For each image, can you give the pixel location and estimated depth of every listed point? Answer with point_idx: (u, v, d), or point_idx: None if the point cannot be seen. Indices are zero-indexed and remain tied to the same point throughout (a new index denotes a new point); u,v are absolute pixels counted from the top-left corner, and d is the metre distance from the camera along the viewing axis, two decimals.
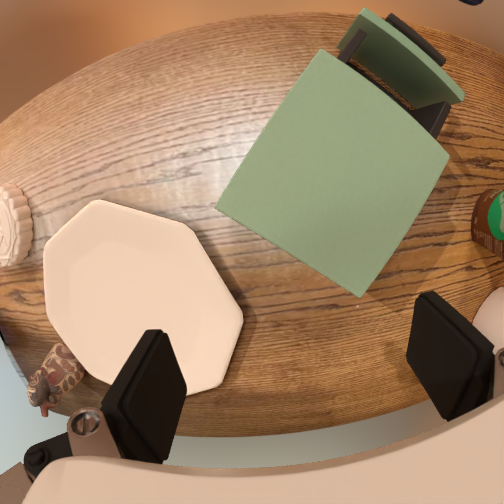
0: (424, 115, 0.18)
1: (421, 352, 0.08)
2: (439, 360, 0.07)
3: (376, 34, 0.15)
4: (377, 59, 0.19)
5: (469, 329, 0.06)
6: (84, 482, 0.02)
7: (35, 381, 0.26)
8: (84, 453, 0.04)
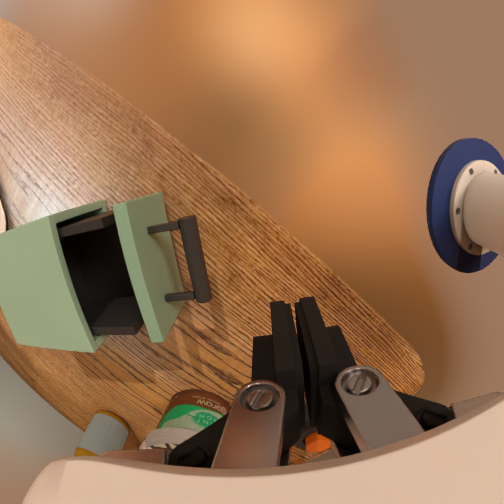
0: (130, 312, 0.23)
1: None
2: (303, 366, 0.08)
3: None
4: None
5: (320, 339, 0.07)
6: (84, 482, 0.02)
7: None
8: (239, 430, 0.05)
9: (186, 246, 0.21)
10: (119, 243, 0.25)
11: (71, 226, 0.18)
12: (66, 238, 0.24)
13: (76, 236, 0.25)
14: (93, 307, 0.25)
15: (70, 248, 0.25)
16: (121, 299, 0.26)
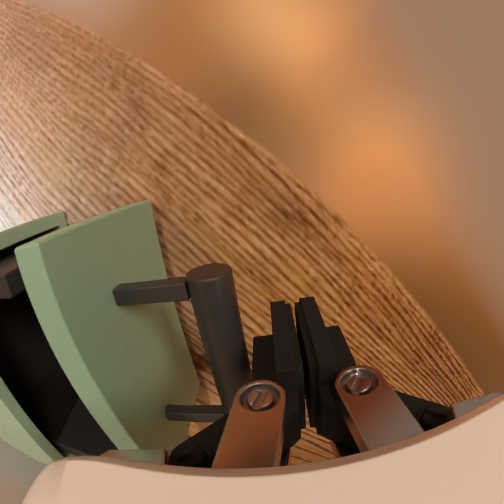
0: None
1: None
2: (303, 366, 0.08)
3: None
4: None
5: (320, 339, 0.07)
6: (84, 482, 0.02)
7: None
8: (239, 430, 0.05)
9: (209, 342, 0.08)
10: None
11: None
12: None
13: None
14: (54, 388, 0.13)
15: None
16: None
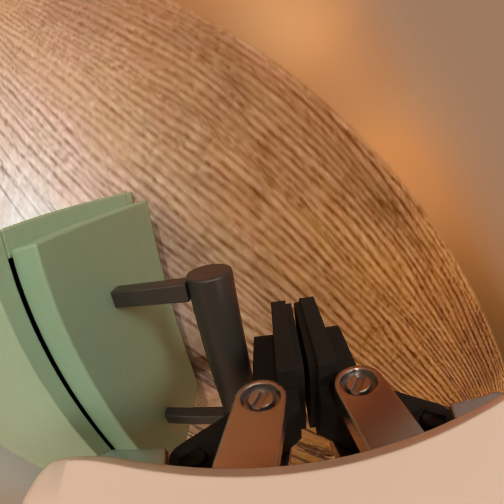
0: None
1: None
2: None
3: None
4: None
5: (320, 339, 0.07)
6: (84, 482, 0.02)
7: None
8: (240, 430, 0.05)
9: (210, 343, 0.08)
10: None
11: None
12: None
13: None
14: None
15: None
16: None
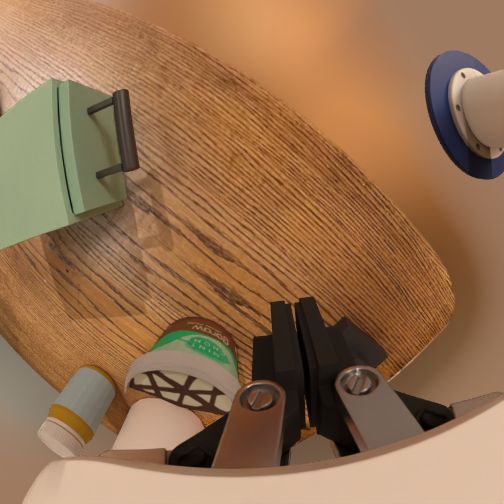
0: None
1: None
2: (303, 366, 0.08)
3: None
4: None
5: (320, 339, 0.07)
6: (84, 482, 0.02)
7: None
8: (239, 430, 0.05)
9: (116, 114, 0.18)
10: None
11: None
12: None
13: None
14: None
15: None
16: None
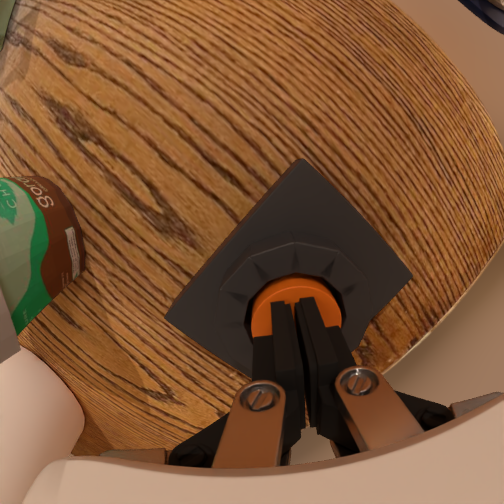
0: None
1: None
2: (303, 366, 0.08)
3: None
4: None
5: (320, 339, 0.07)
6: (84, 482, 0.02)
7: None
8: (239, 430, 0.05)
9: None
10: None
11: None
12: None
13: None
14: None
15: None
16: None
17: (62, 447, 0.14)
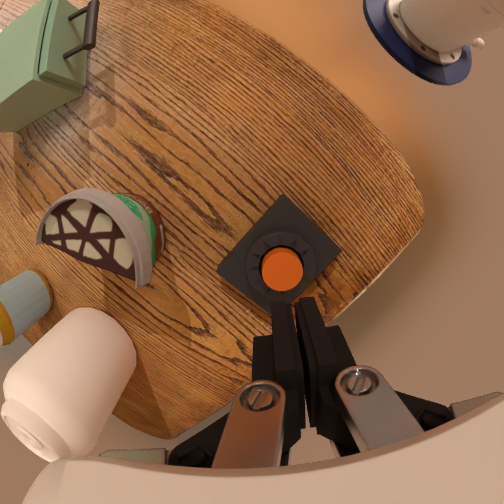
0: None
1: None
2: (303, 366, 0.08)
3: None
4: None
5: (320, 339, 0.07)
6: (84, 482, 0.02)
7: None
8: (239, 430, 0.05)
9: (87, 14, 0.15)
10: None
11: None
12: None
13: None
14: None
15: None
16: None
17: (124, 379, 0.28)
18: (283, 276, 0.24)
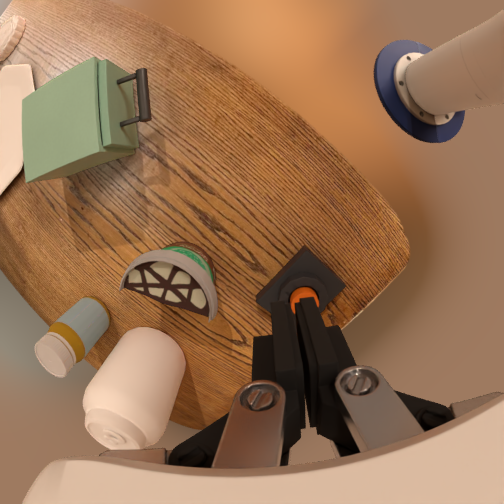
0: None
1: None
2: (303, 366, 0.08)
3: None
4: None
5: (320, 339, 0.07)
6: (84, 482, 0.02)
7: None
8: (239, 430, 0.05)
9: (138, 84, 0.25)
10: None
11: None
12: None
13: None
14: None
15: None
16: None
17: (179, 382, 0.39)
18: None
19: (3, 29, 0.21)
